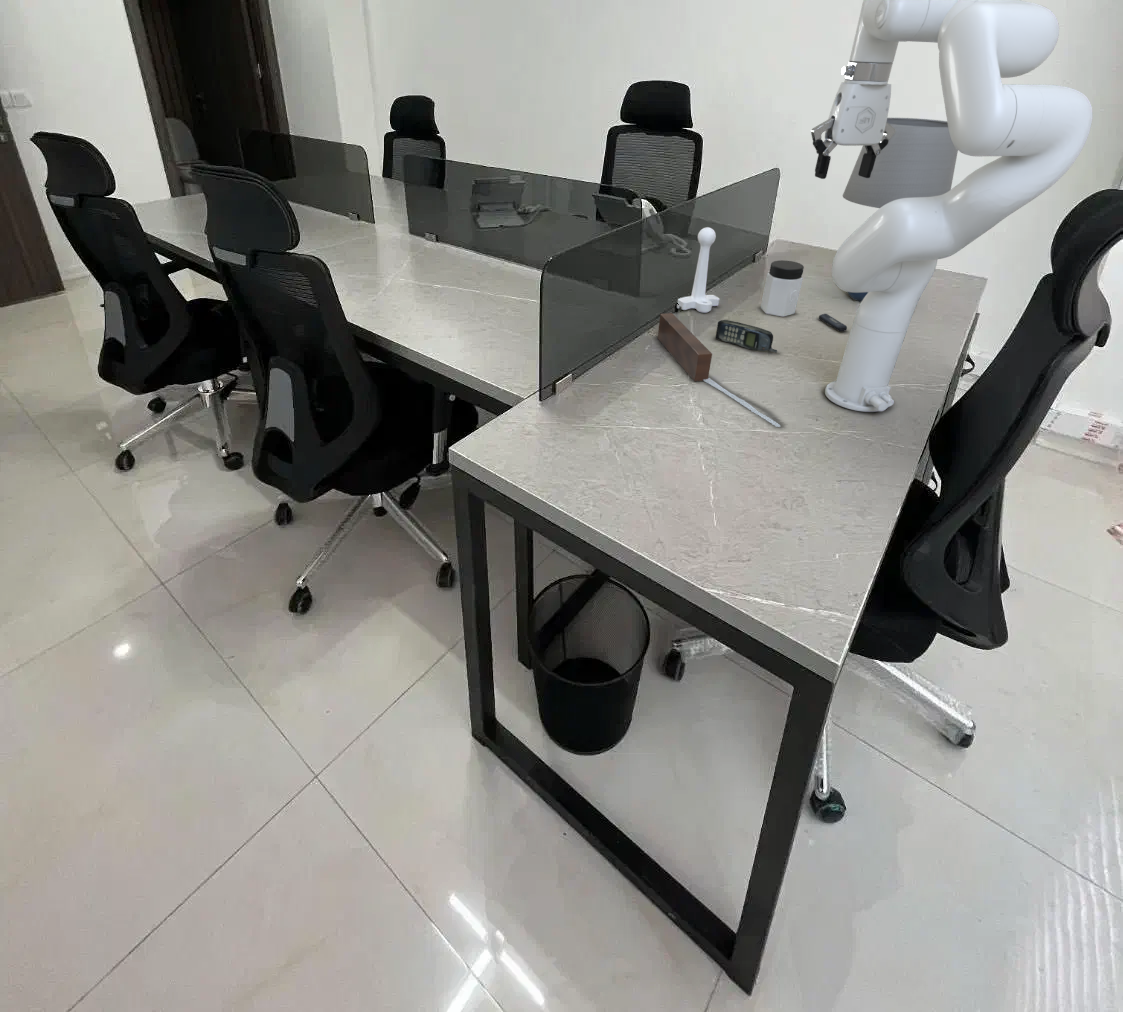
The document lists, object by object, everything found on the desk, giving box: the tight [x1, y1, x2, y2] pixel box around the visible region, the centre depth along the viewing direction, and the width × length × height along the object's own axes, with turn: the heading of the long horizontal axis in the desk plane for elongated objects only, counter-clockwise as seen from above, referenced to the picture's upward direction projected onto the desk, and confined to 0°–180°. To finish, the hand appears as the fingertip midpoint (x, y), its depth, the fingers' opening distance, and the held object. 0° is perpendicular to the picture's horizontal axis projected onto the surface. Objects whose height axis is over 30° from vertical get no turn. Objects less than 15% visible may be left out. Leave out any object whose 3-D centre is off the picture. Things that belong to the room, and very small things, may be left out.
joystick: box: [676, 226, 720, 314], centre depth 168 cm, size 11×8×20 cm
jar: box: [760, 259, 805, 317], centre depth 170 cm, size 9×8×12 cm
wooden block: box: [657, 312, 713, 382], centre depth 145 cm, size 24×3×6 cm, turn 12°
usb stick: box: [818, 313, 848, 332], centre depth 165 cm, size 10×3×2 cm, turn 14°
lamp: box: [842, 117, 959, 302], centre depth 171 cm, size 25×25×43 cm
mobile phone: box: [715, 319, 778, 354], centre depth 152 cm, size 5×3×15 cm
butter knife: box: [702, 376, 781, 428], centre depth 132 cm, size 1×27×3 cm
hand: (842, 177), depth 130 cm, fingers open, 9 cm apart
